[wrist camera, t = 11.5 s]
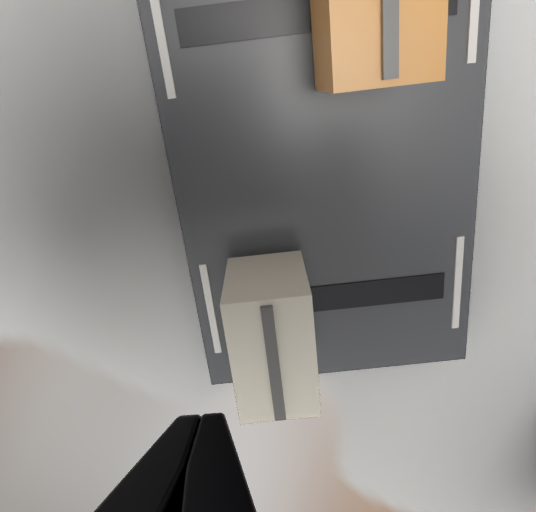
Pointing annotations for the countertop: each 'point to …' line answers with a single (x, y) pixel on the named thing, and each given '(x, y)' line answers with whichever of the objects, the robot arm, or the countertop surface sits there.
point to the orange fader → (378, 43)
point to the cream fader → (271, 337)
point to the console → (323, 176)
